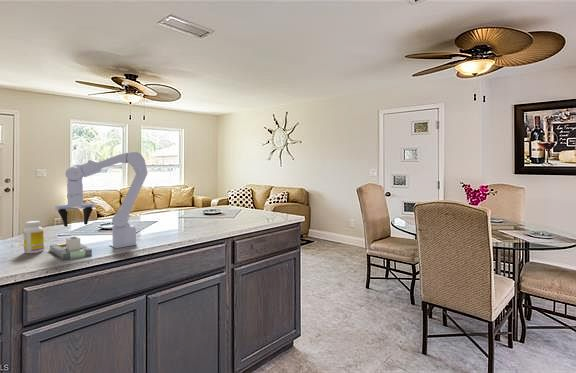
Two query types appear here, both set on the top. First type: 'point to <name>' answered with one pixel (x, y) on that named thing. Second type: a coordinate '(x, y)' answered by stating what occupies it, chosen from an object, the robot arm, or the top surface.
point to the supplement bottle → (33, 237)
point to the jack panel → (65, 255)
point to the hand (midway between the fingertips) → (75, 225)
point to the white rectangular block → (72, 243)
